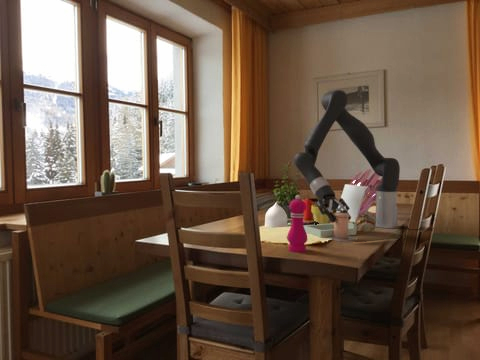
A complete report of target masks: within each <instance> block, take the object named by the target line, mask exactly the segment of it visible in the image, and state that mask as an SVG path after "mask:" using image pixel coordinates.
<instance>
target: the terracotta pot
mask: <svg viewBox="0 0 480 360" xmlns="http://www.w3.org/2000/svg"><path fill="white" fill-rule="evenodd" d="M333 215H334V216H335V218H336V221H335V222H334V238H335V239H348V236H349V235H348V223H349V221H348V219H349V213H344V212H337V211H336V212H333Z"/></svg>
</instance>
